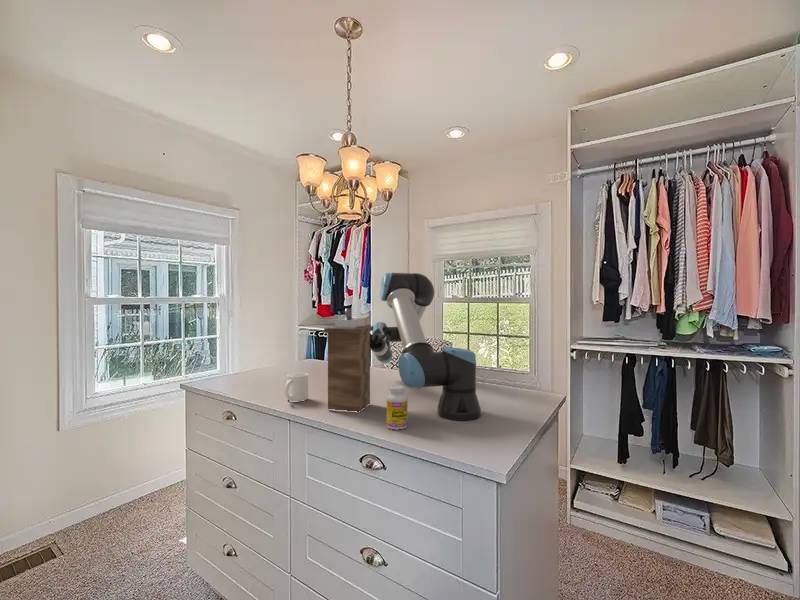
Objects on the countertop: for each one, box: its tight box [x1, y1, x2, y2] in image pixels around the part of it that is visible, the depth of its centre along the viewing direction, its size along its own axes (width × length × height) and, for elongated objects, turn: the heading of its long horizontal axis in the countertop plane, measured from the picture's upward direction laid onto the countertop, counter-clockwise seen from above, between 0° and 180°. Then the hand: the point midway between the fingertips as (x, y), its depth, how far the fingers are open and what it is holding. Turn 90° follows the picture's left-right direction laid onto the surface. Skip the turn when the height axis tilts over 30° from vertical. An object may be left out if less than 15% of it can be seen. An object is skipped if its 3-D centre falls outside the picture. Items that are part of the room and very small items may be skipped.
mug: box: [284, 372, 309, 401], centre depth 153 cm, size 12×8×10 cm
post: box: [323, 325, 373, 412], centre depth 145 cm, size 14×14×30 cm
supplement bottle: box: [386, 384, 409, 430], centre depth 123 cm, size 7×7×13 cm
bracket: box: [334, 308, 368, 328], centre depth 150 cm, size 20×8×7 cm, turn 166°
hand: (364, 324), depth 161 cm, fingers open, 13 cm apart
